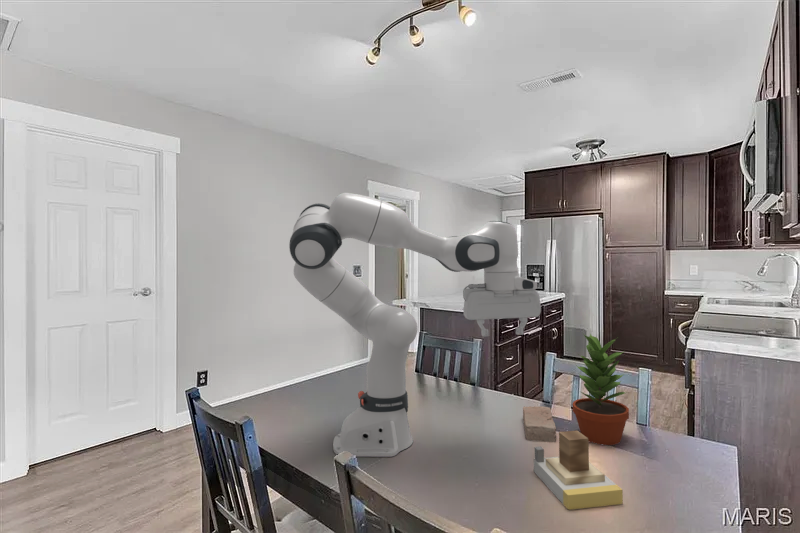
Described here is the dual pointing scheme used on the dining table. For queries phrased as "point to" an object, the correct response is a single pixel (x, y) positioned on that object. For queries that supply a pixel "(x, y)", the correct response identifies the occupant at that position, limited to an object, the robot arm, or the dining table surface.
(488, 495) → the dining table surface
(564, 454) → the wooden block on base
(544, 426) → the brick
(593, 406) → the potted plant
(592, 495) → the dock
